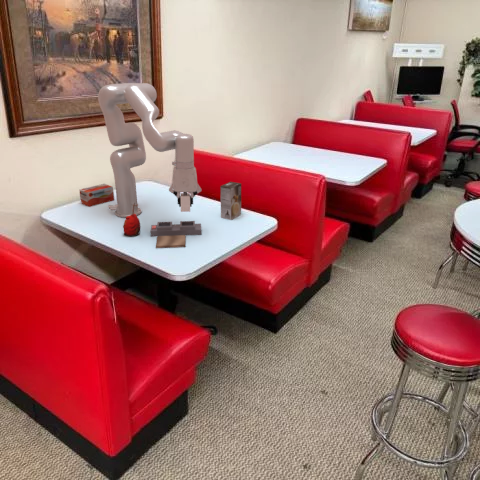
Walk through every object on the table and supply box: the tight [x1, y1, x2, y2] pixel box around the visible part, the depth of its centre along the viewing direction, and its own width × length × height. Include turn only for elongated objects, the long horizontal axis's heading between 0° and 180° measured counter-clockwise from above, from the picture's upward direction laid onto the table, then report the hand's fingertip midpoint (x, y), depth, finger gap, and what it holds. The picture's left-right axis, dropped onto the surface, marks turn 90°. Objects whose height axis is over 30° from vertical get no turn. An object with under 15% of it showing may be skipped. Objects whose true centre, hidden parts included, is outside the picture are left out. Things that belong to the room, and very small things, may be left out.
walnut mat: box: [155, 235, 187, 249], centre depth 182 cm, size 12×10×1 cm
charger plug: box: [180, 192, 191, 213], centre depth 186 cm, size 4×4×8 cm
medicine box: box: [79, 183, 115, 208], centre depth 226 cm, size 15×8×8 cm, turn 138°
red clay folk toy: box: [122, 203, 141, 237], centre depth 186 cm, size 8×7×15 cm
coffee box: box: [219, 181, 242, 221], centre depth 207 cm, size 9×6×16 cm
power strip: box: [149, 220, 202, 238], centre depth 191 cm, size 22×7×4 cm, turn 96°
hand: (185, 205), depth 187 cm, fingers closed on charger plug, 4 cm apart
